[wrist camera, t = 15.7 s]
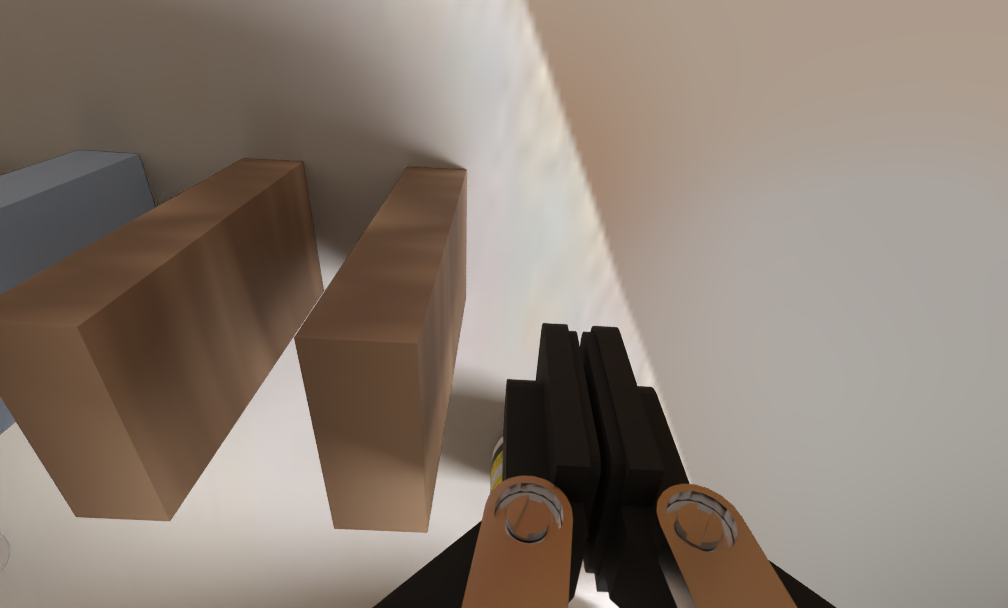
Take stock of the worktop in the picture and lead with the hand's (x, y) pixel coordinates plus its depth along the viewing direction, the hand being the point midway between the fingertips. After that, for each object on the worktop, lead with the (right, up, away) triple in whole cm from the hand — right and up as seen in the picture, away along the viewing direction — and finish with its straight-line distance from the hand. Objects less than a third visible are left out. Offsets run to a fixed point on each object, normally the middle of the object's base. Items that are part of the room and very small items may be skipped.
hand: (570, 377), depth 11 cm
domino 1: (-9, +4, +7) cm, 12 cm away
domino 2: (-4, +4, +7) cm, 9 cm away
